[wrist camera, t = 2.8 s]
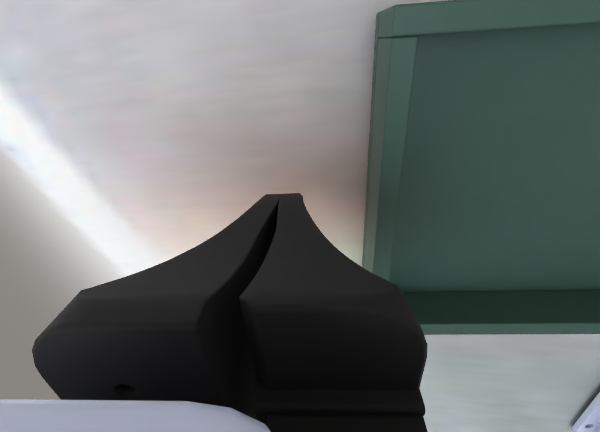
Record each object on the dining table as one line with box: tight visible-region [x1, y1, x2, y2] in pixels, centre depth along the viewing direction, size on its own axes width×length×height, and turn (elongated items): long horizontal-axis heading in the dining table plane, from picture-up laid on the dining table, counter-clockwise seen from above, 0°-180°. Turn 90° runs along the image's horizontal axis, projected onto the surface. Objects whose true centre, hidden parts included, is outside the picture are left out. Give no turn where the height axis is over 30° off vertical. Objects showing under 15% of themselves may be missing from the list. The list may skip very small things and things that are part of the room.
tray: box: [362, 0, 600, 335], centre depth 11 cm, size 12×14×2 cm
